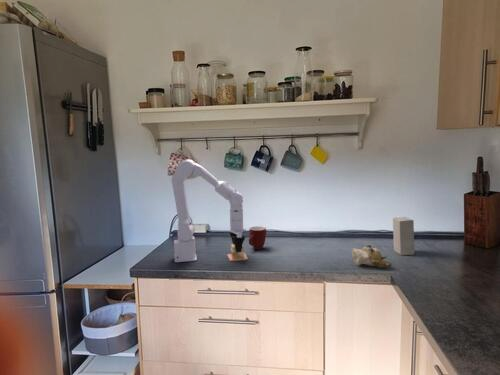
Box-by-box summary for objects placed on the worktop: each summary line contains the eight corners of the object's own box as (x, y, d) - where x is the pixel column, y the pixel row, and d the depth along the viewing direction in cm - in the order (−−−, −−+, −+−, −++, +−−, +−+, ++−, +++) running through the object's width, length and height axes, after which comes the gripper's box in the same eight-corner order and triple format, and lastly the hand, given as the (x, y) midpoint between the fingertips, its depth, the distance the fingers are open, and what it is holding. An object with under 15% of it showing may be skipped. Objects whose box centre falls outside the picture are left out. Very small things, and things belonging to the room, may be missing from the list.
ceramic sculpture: (350, 240, 152) (387, 243, 150) (349, 259, 154) (385, 263, 152) (353, 247, 142) (393, 251, 140) (352, 268, 143) (391, 272, 141)
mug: (258, 253, 165) (258, 232, 164) (243, 251, 169) (243, 230, 168) (269, 247, 174) (269, 227, 173) (254, 245, 178) (254, 225, 177)
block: (232, 258, 157) (232, 247, 157) (231, 255, 162) (230, 244, 161) (243, 257, 158) (243, 246, 157) (242, 254, 163) (241, 243, 162)
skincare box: (414, 255, 158) (416, 220, 156) (398, 255, 158) (399, 220, 156) (406, 249, 167) (408, 216, 165) (391, 250, 167) (392, 216, 165)
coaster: (229, 261, 155) (229, 259, 155) (227, 255, 163) (227, 254, 163) (248, 259, 157) (247, 258, 157) (244, 254, 165) (244, 252, 165)
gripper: (248, 222, 152) (249, 253, 153) (242, 215, 166) (243, 244, 167) (232, 223, 150) (232, 254, 152) (227, 216, 164) (228, 245, 166)
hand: (237, 249), depth 160 cm, fingers open, 7 cm apart
